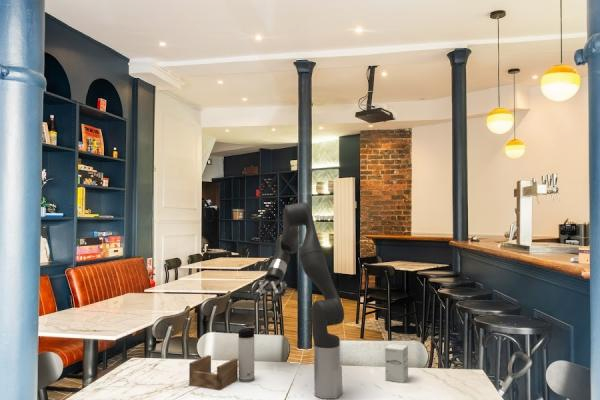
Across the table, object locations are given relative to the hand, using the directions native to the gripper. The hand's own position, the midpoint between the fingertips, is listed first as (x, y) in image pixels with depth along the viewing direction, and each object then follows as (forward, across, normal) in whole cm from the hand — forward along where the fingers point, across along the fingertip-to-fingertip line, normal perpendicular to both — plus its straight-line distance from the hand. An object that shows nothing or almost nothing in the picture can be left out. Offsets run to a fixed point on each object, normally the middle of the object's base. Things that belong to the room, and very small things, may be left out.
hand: (264, 302), depth 192 cm
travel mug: (+28, -2, +12) cm, 31 cm away
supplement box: (+13, +52, +28) cm, 61 cm away
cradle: (+34, -12, +6) cm, 36 cm away
